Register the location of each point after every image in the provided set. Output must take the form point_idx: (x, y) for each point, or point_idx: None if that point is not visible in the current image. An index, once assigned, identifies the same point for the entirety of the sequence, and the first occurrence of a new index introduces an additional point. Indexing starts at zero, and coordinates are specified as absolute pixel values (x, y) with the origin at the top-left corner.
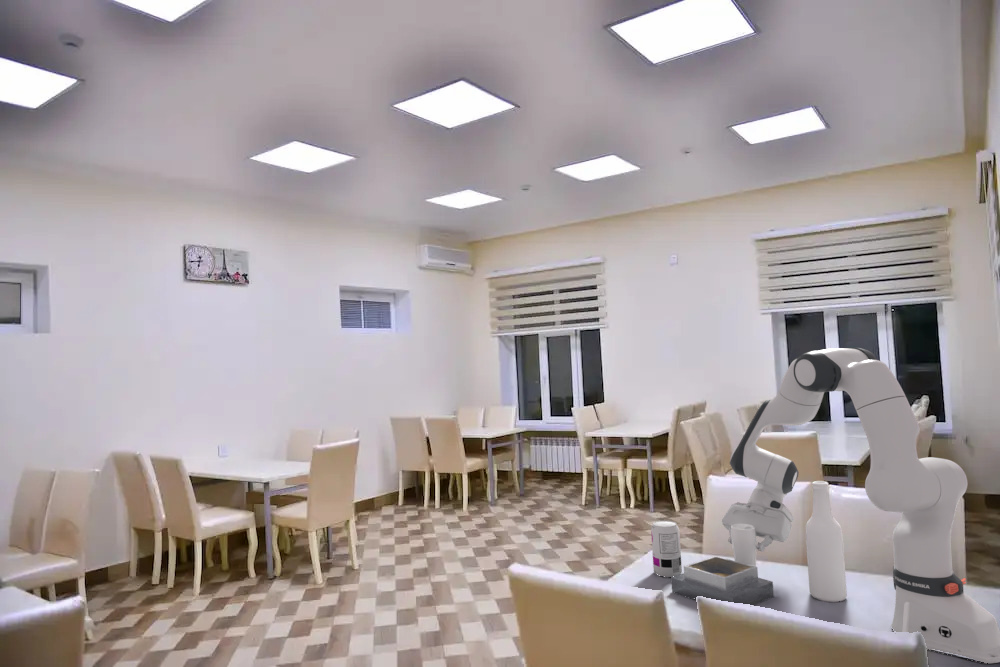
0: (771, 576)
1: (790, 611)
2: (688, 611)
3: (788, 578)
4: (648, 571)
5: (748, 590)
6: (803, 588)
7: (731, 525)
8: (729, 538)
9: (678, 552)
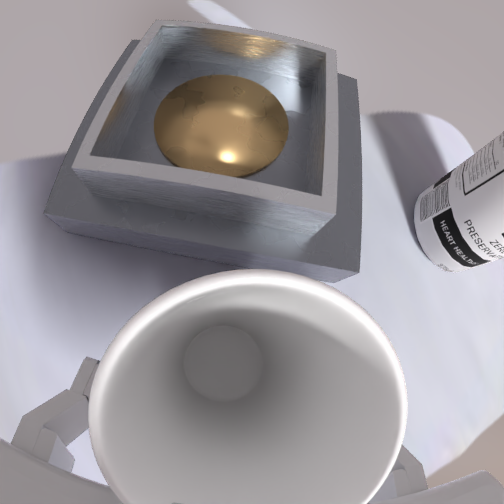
0: None
1: (18, 161)
2: None
3: None
4: None
5: (101, 92)
6: (25, 373)
7: (428, 490)
8: None
9: (464, 199)
